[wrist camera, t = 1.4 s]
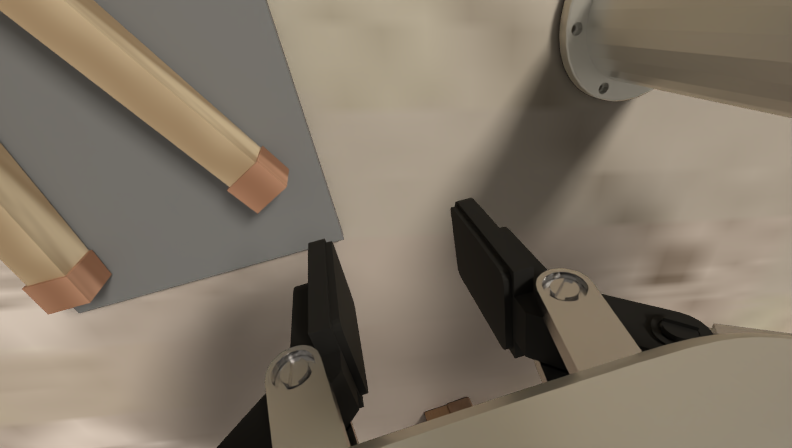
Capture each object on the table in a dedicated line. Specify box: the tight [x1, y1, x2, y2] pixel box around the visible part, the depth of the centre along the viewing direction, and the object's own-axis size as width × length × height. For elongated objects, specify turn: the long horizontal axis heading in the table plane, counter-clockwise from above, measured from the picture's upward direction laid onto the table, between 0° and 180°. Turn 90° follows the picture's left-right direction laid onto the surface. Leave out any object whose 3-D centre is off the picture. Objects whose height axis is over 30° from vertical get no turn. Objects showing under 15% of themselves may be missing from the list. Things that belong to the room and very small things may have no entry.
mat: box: [0, 0, 344, 313], centre depth 21 cm, size 22×32×1 cm
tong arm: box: [0, 0, 289, 214], centre depth 18 cm, size 6×27×4 cm, turn 39°
